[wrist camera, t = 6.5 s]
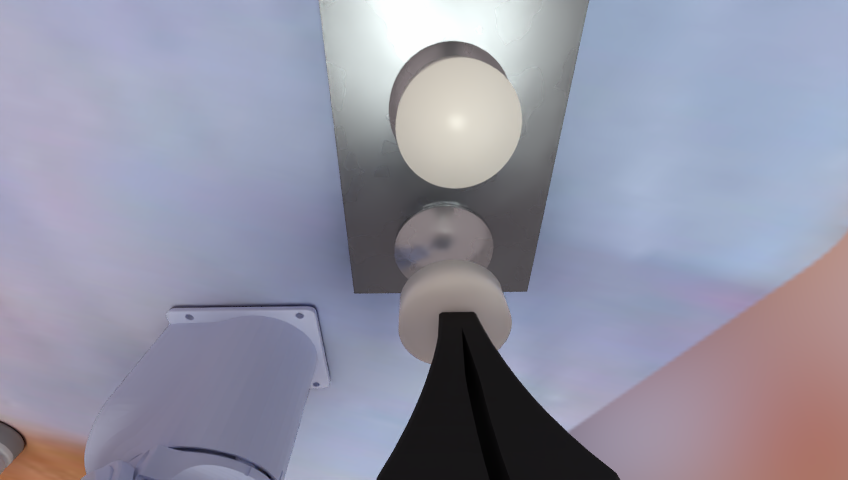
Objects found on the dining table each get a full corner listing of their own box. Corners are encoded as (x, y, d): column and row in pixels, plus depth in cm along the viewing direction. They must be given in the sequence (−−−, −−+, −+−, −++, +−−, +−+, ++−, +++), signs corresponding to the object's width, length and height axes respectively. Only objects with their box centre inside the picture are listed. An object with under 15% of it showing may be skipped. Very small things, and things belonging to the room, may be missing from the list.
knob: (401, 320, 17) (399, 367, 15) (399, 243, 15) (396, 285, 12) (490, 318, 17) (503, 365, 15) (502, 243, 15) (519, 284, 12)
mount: (358, 272, 22) (353, 296, 20) (304, -228, 11) (281, -283, 9) (518, 271, 22) (528, 294, 20) (609, -217, 11) (650, -268, 9)
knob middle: (399, 163, 16) (397, 188, 13) (396, 52, 13) (393, 57, 11) (496, 164, 16) (512, 188, 13) (510, 53, 13) (532, 59, 11)
